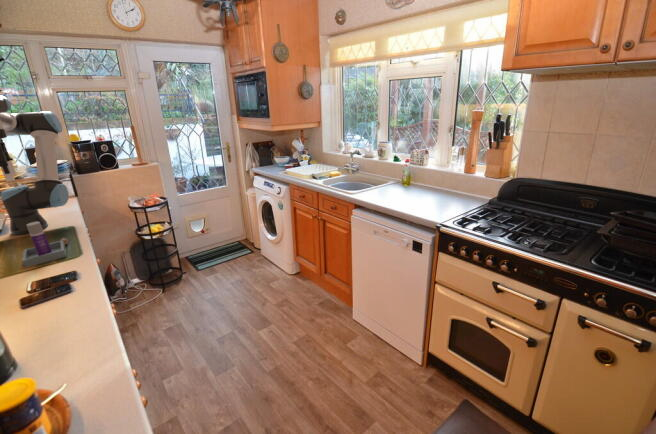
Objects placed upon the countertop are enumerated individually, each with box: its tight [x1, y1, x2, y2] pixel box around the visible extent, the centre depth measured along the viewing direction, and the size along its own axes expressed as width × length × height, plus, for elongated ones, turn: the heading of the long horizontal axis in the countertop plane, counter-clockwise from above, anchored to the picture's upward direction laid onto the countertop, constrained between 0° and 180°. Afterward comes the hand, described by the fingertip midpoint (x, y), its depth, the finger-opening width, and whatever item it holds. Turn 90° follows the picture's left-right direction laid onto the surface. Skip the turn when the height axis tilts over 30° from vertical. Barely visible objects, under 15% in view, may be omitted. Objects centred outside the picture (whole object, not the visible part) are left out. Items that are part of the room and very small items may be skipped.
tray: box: [21, 239, 67, 268], centre depth 146 cm, size 14×14×3 cm
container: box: [27, 222, 52, 256], centre depth 144 cm, size 5×5×15 cm
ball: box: [59, 237, 69, 246], centre depth 157 cm, size 3×3×3 cm
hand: (12, 178), depth 148 cm, fingers open, 13 cm apart
